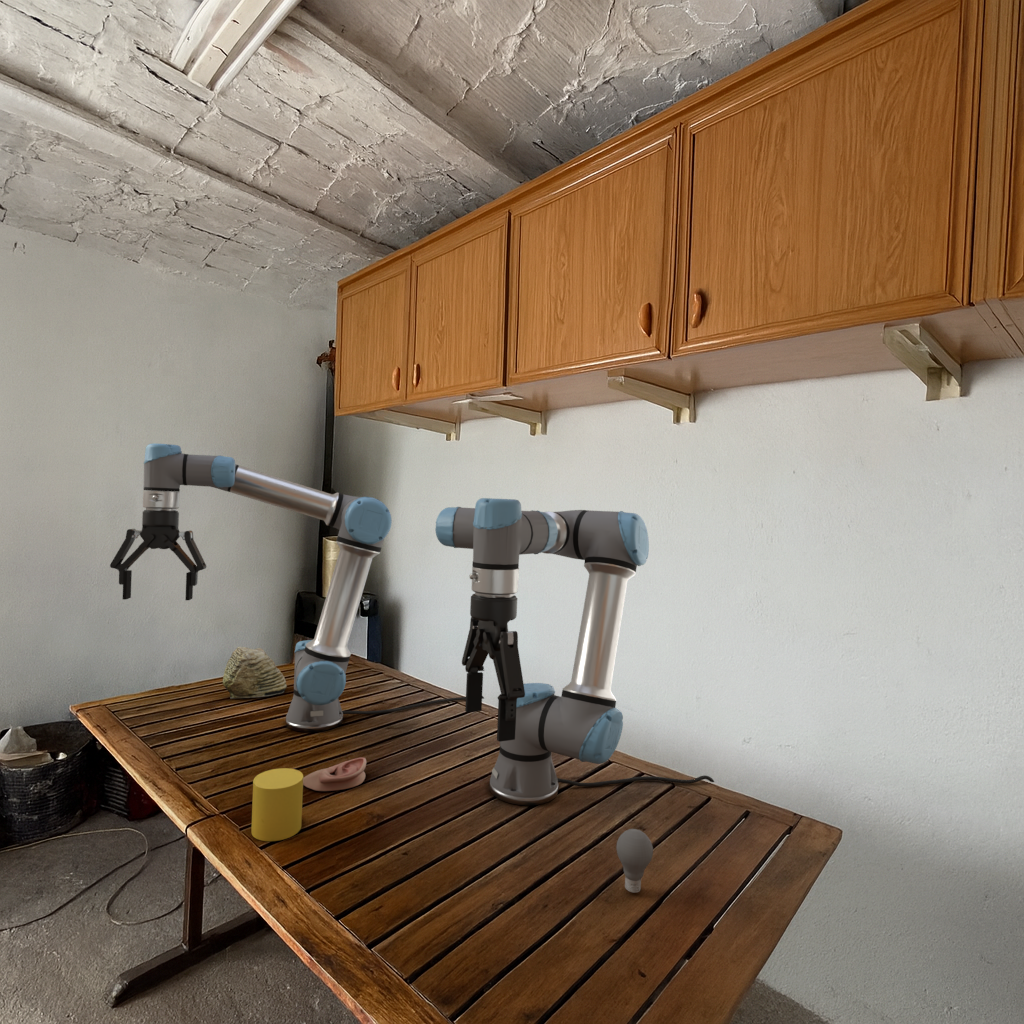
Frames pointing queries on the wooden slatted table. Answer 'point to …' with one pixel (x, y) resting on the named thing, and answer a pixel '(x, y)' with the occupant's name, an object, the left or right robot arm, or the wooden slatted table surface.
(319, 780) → the anatomical model
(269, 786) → the canister
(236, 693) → the fossil
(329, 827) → the wooden slatted table surface
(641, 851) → the light bulb
